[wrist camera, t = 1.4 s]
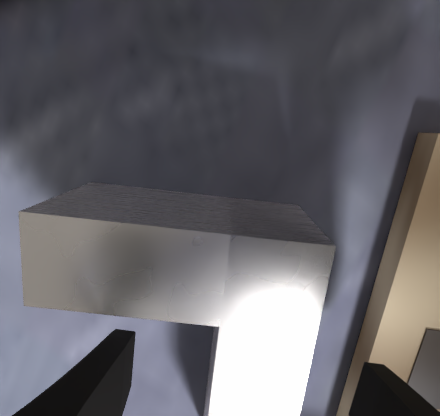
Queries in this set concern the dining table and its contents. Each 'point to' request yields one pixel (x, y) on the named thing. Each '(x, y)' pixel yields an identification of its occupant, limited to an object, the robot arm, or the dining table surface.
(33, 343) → the dining table surface
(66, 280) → the bracket
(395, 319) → the arena board
